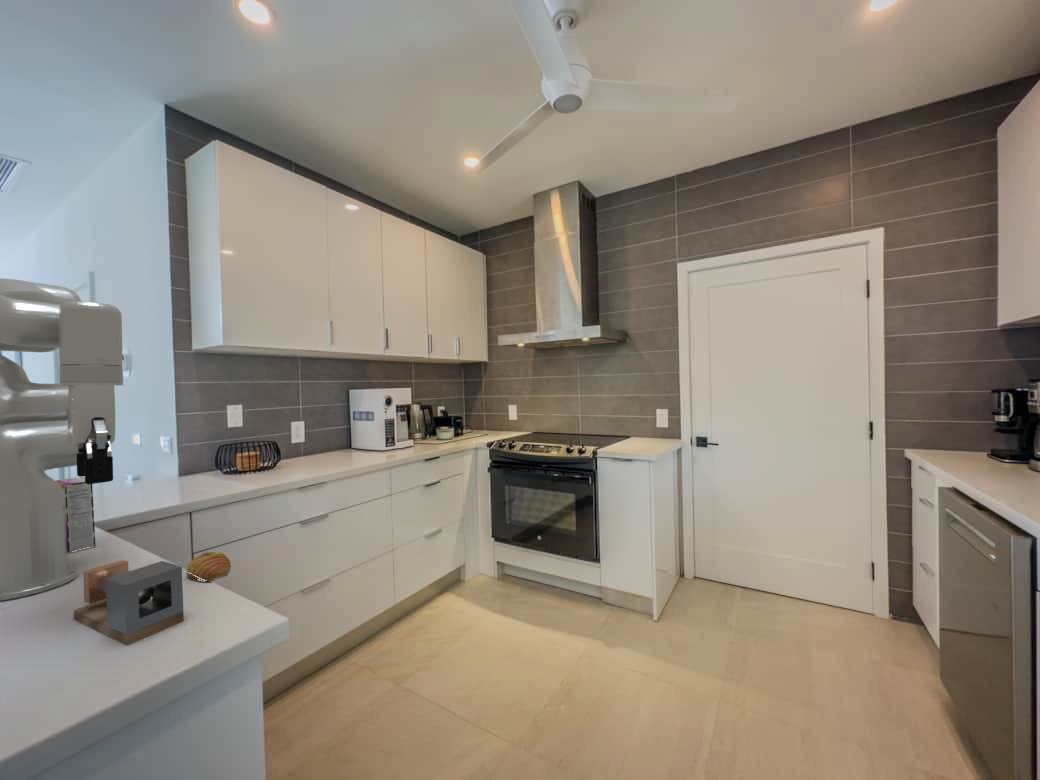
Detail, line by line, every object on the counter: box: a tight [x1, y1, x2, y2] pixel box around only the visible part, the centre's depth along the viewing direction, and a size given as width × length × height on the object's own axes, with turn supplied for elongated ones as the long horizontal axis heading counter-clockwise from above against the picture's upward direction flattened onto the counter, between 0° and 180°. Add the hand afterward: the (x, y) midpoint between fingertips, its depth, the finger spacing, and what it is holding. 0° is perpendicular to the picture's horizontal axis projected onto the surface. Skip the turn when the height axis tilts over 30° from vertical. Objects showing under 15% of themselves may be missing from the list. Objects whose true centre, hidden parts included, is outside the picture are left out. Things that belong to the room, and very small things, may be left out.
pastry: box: [186, 551, 232, 583], centre depth 85 cm, size 9×7×4 cm
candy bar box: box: [55, 476, 96, 553], centre depth 105 cm, size 11×5×16 cm, turn 56°
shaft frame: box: [73, 560, 185, 646], centre depth 68 cm, size 18×7×8 cm, turn 63°
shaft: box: [82, 559, 154, 605], centre depth 69 cm, size 13×5×5 cm, turn 63°
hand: (94, 478), depth 72 cm, fingers open, 9 cm apart
